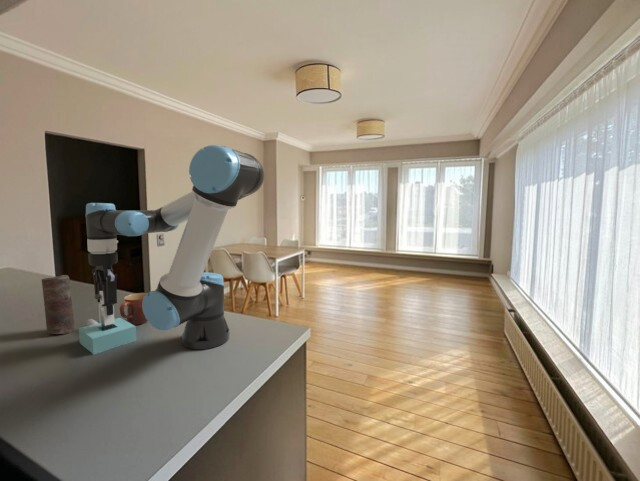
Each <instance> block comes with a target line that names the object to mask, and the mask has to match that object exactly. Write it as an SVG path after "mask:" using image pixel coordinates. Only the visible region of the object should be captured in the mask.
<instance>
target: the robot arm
mask: <svg viewBox="0 0 640 481" xmlns="http://www.w3.org/2000/svg"><path fill="white" fill-rule="evenodd" d="M188 173H189V175H190V177H189V179H190V182H191V183H192V185H193V186H192V189H191V191H190V192H188V193H187V194H184V195H182V196H180V197H178V198H177V199H175V200H172V201H170V202H169V203H167V204H165V205H163V206H162V207H160V208H157V209H151V210H148V209H145V210H144V209H143V210H141V209H139V210H136V209H135V210H118V209H116V205H115V204H114V203H111V202H110V203H107V202H106V203H105V202H90V203H89V202H88V203H86V205H85V224H86V225H85V226H86V235H87V240H86V241H87V251H88V252H89V253H88V254H87V255H88V264H89V266H93V267H95V269H92V270H91V273H92V277H93V286H94V287H93V288H94V289H93V290H94V296H95V295H96V294H100V293H99V291H100V290H103V297H104V304H103V305H102V307H103V315H104V325H105V326H106V325H109V324H113V323H115V321H114V319H115V307H114V306H115V305H116V304H117V303H118V299H117V298H118V295H117V293H118V292H117V290H118V289H117V288H118V287H117V283H118V282H117V281H118V274H117V273H114V269H113V265H115V264H117V263H118V262H119V256H118V252H117V250H118V243H119V240H117V238H118V237H117V235H118V236H126V237H138V236H139V237H140V236H142V235H144V234H145V235H146V234H152V233H153V234H155V233H168V232H172V231H175V230H177V228H178V227H179V225H181V224H183V223H185V222H186V224H185V227H184V230H183V232H182V234H181V238H180V240H179V243H178V246H177V249H176V252H175V254H174V257H173V260H172V263H171V266H170V269H169V271H168V272H167V273H165V274H163V275H161V276H160V279H159V281H158V283H157V287H156V289H155V290H150V291H149V292H147V293H148V294H146V295H145V297H144V298H143V302H142V309H143V313H144V315H145V317H146V319H147V322H148V323H149V325H151V326H152V327H153V328H154V329H157V330H159V331H168V330H171V329H173V328H174V329H175V328H178V327H179V326H180V325H182V324H185V323H186V324H185V326H184V329H183V333H182V335H181V341H182V342H181V343H182V345H183V347H185V348H188V349H191V350H206V349H208V350H209V349H214V348H216V347H219V346H221V345H224V344H225V343H226V342H228V341H229V339H230V329H229V324H228V323H227V320H226V317H225V284H224V283H225V282H224V281H225V280H224V276H223V275H222V274H220V273H217V272H207V271H206V272H204V271H205V270H206V267H207V264H208V262H209V259H210V257H211V254H212V252H213V249H214V247H215V244H216V242H217V239H218V236H219V233H220V232H221V229H222V225H223V224H224V221H225V219H226V216H227V213H228V211H229V210H232V209H234V208H236V207H237V205H238V202H239V200H242V199H244V198H246V197H249V196H251V195H254V194H255V193H257V192H258V191H259V190H260V189H261V187H262V186H263V184H264V180H265V171H264V167H263V164H261V162H260V161H259V160H258V159H257V157H255V156H254V155H252V154H249V153H246V152H242V151H240V150H237V149H233V148H230V147H227V146H225V145H218V144H210V145H206V146H204V147H202V148H200V149H198V150H197V151H196V152H195V154H194V155H193V157H192V158H191V161H190V163H189V169H188ZM94 299H95V300H97V302H98V318H99V319H98V320H99V323H101V310H100V298H99V299H96V298H95V297H94Z"/></svg>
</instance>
